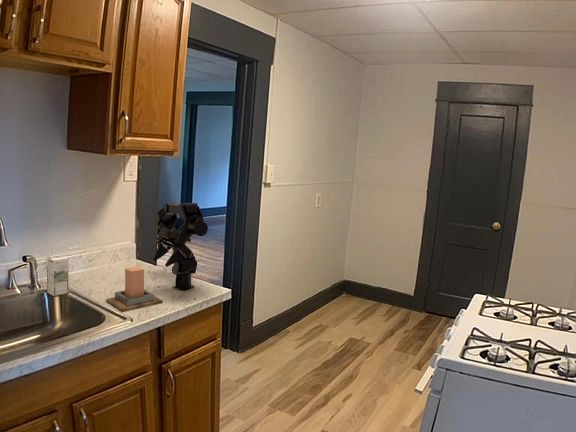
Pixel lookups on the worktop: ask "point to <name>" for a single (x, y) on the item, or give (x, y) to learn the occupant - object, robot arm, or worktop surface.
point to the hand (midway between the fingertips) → (159, 263)
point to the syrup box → (57, 275)
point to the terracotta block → (134, 282)
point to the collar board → (132, 301)
